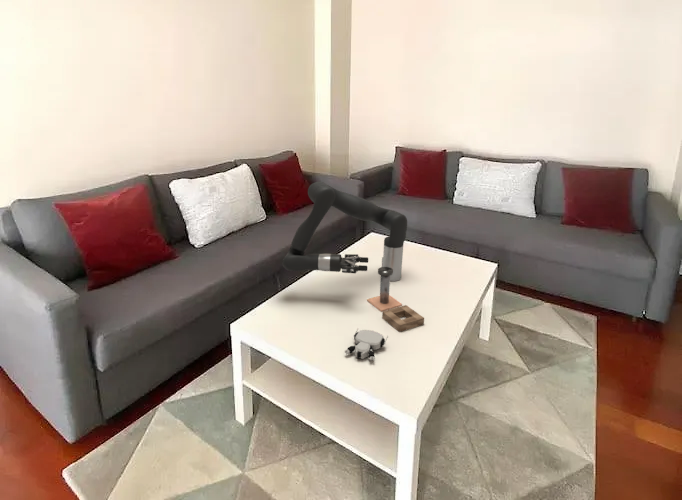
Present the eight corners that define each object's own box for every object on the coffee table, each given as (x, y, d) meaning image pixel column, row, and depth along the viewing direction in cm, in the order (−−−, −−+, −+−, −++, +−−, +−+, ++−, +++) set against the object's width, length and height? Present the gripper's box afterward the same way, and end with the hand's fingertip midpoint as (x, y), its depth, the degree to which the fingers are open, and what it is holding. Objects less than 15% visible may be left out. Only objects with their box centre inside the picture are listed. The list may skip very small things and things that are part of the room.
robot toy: (374, 367, 160) (388, 343, 173) (374, 357, 158) (389, 333, 171) (342, 358, 165) (358, 335, 177) (342, 348, 163) (358, 325, 175)
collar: (382, 318, 190) (382, 311, 189) (405, 311, 195) (406, 305, 194) (399, 332, 180) (400, 325, 179) (423, 324, 186) (424, 317, 184)
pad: (366, 300, 203) (367, 299, 203) (387, 295, 208) (387, 293, 208) (381, 311, 194) (381, 310, 194) (402, 305, 200) (402, 304, 199)
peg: (374, 300, 202) (374, 268, 196) (386, 296, 205) (387, 265, 199) (382, 306, 197) (383, 274, 191) (394, 302, 200) (396, 271, 194)
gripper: (327, 261, 189) (367, 262, 187) (331, 248, 202) (368, 249, 201) (327, 277, 192) (366, 279, 190) (331, 263, 205) (368, 265, 203)
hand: (367, 264), depth 195 cm, fingers open, 8 cm apart
